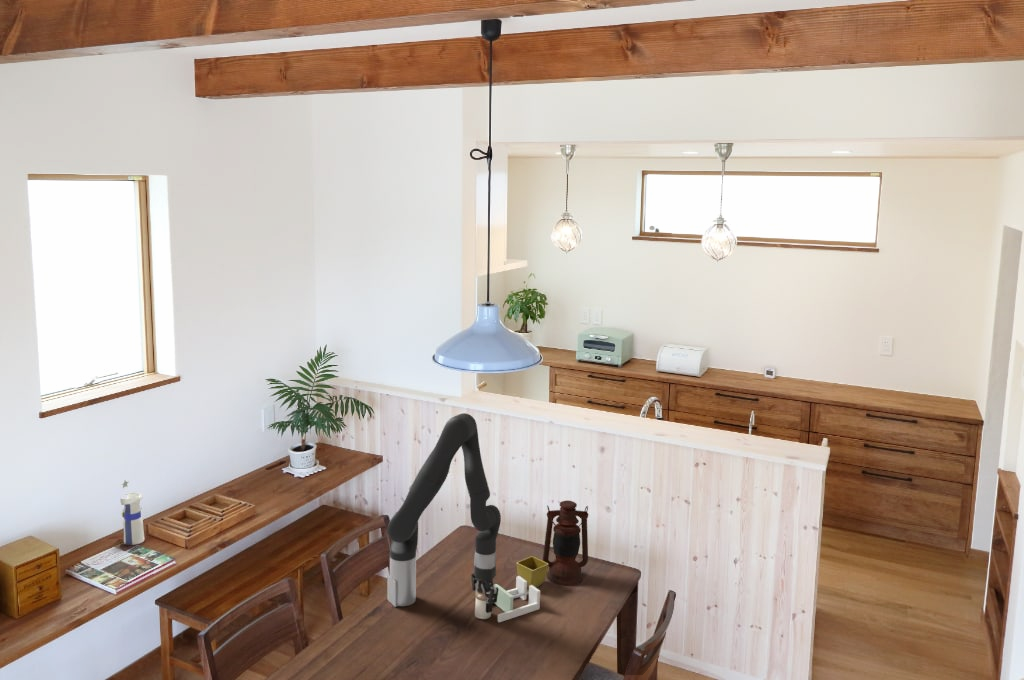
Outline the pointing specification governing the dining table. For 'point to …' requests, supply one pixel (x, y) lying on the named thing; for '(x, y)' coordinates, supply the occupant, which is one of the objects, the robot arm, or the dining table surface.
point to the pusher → (506, 598)
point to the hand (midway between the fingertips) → (484, 607)
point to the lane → (533, 599)
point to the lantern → (566, 544)
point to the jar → (481, 605)
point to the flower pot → (532, 571)
